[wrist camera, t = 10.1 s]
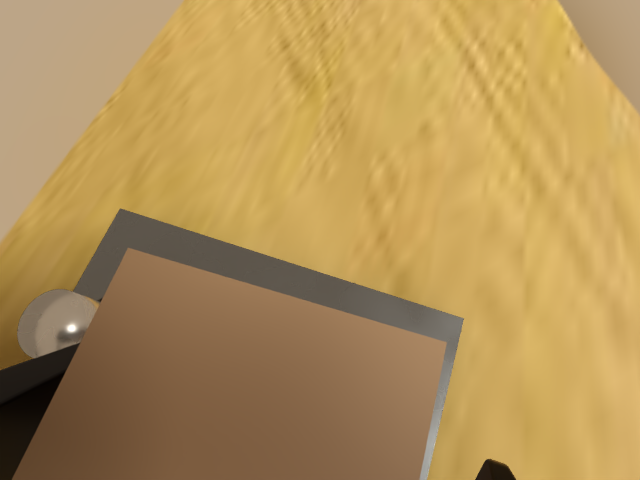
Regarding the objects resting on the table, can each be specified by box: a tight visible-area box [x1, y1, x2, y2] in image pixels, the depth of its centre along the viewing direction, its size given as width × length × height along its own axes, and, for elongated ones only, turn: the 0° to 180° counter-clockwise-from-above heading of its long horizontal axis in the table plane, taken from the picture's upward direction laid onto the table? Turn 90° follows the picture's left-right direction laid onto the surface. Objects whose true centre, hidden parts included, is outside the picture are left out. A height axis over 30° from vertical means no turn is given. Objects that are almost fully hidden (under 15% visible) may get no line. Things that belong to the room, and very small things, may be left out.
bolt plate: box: [17, 209, 464, 480], centre depth 16 cm, size 14×18×5 cm
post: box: [12, 248, 447, 480], centre depth 11 cm, size 4×4×13 cm
